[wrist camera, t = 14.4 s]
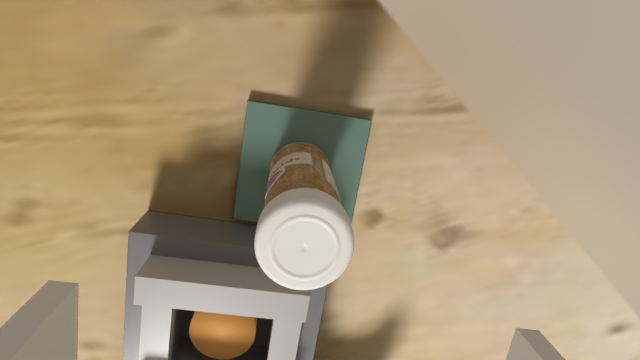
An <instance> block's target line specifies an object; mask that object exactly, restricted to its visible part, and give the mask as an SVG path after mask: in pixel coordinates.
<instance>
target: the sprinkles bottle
mask: <svg viewBox="0 0 640 360" xmlns="http://www.w3.org/2000/svg"><path fill="white" fill-rule="evenodd" d="M254 249H255V254H256V258H257V261H258V263H259V265H260V267H261V268H262V270H263V271H264V272H265V274H266V275H267V276H268V277H269V278H270V279H272V280H273V281H274V282H276V283H278V284H279V285H281V286H284V287H287V288H290V289H295V290H312V289H317V288H320V287H323V286H325V285H327V284H329V283H331V282H333V281H334V280H335V279H337V278H338V277H339V276H340V275H341V274H342V273H343V272H344V270H345V269H346V268H347V266H348V264H349V263H350V260H351V258H352V254H353V250H354V236H353V231H352V227H351V223H350V220H349V217H348V215H347V213H346V211H345V209H344V208H343V206H342V205H341V201H340V196H339V193H338V190H337V187H336V184H335V181H334V178H333V175H332V172H331V170H330V165H329V161H328V159H327V157H326V156H325V154H324V152H323V151H322V150H320V149H319V148H318V147H317V146H315V145H313V144H311V143H307V142H293V143H290V144H288V145H286V146H284V147H282V148H281V149H280V150H279V151H278V152H277V153H276V154H275V155H274V157H273V158H272V161H271V164H270V174H269V178H268V184H267V189H266V194H265V206H264V209H263V211H262V213H261V215H260V217H259V220H258V223H257V228H256V233H255V240H254Z"/></svg>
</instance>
